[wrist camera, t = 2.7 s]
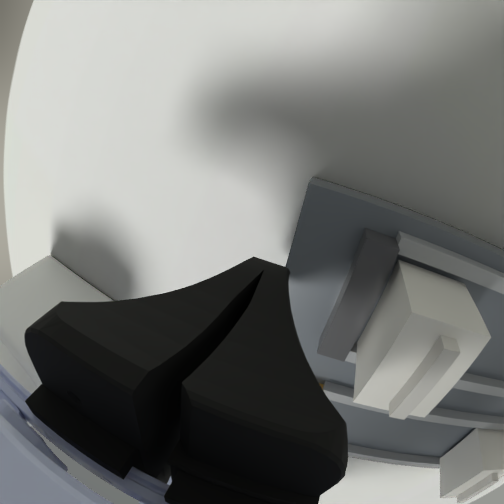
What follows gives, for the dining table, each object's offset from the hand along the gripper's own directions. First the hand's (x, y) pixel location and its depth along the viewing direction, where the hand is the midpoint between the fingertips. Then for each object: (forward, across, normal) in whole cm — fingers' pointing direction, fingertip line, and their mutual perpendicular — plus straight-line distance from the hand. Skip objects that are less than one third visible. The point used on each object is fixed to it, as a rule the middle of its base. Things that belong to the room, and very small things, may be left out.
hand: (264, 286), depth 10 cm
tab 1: (+1, -6, 0) cm, 6 cm away
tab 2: (+1, -16, +8) cm, 18 cm away
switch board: (+3, -10, +4) cm, 11 cm away
